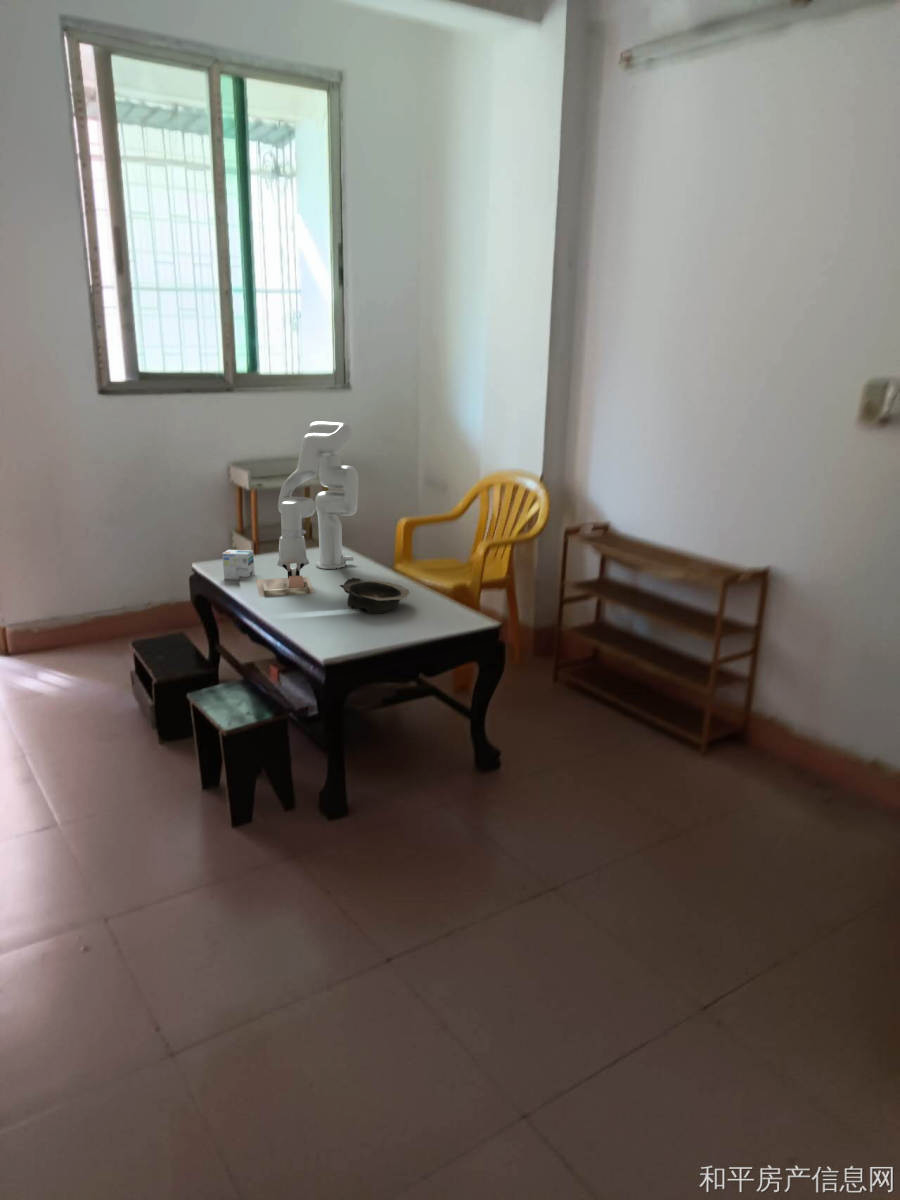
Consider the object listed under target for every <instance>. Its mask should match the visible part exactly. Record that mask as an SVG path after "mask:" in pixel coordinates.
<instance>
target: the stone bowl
mask: <svg viewBox="0 0 900 1200" xmlns="http://www.w3.org/2000/svg"><path fill="white" fill-rule="evenodd" d="M339 587H340V588H342V589H343V590H344V592H345V593H346V594H348V596H347V606H348V607H349V608H350V609H351V610H359V609H365V610H366V611H367V612H368V614H373V615H378V614H385V613H388V612H390V611H395V610H396V609H395V608H397V607H398V605H399V603H400V601H401V599H405V598H407V597H408V596H409V595H410V594H411V593H410V590H409V589H407V588H405V587H404V586H402V585H400V584H395V583H392V582H389V581H384V580H383V581H382V580H363V579H361V578H359V577H358V578H357V577H356V578H355V577H352V578H347V580H346V581H345V582H344V584H341V585H340V584H339ZM394 609H395V610H394Z"/></svg>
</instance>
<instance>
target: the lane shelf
mask: <svg viewBox="0 0 900 1200" xmlns="http://www.w3.org/2000/svg"><path fill="white" fill-rule="evenodd" d="M302 577H303V581H304V587H302V588H289V579H288V577H284V578H283V577H281V578H279V577H278V578H265V579H264V578H262V579H255V581H256V585H257V590H258V596H259V597H273V596H274V597H275V596H289V595H303V594H304V595H305V594H306V595H307V594H314V593H315V590H314V588H313V585H312V583H311V582H310V579H309V577H308V576H302Z"/></svg>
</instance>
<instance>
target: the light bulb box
mask: <svg viewBox="0 0 900 1200" xmlns="http://www.w3.org/2000/svg"><path fill="white" fill-rule="evenodd" d="M254 557H255V556H254V549H253V550H249V549H244V550H243V549H227V550H226V551H224V552H222V566H223V578H224V580H238V579H240V577H251V576H254V575H256V572H255V560H254Z"/></svg>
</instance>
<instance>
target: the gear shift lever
mask: <svg viewBox="0 0 900 1200" xmlns="http://www.w3.org/2000/svg"><path fill="white" fill-rule="evenodd" d="M296 568H297V567H290V569H291V572H292V576H289V588H302V587H304V581H303V577H304V576H303V575H300V576H296Z"/></svg>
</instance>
